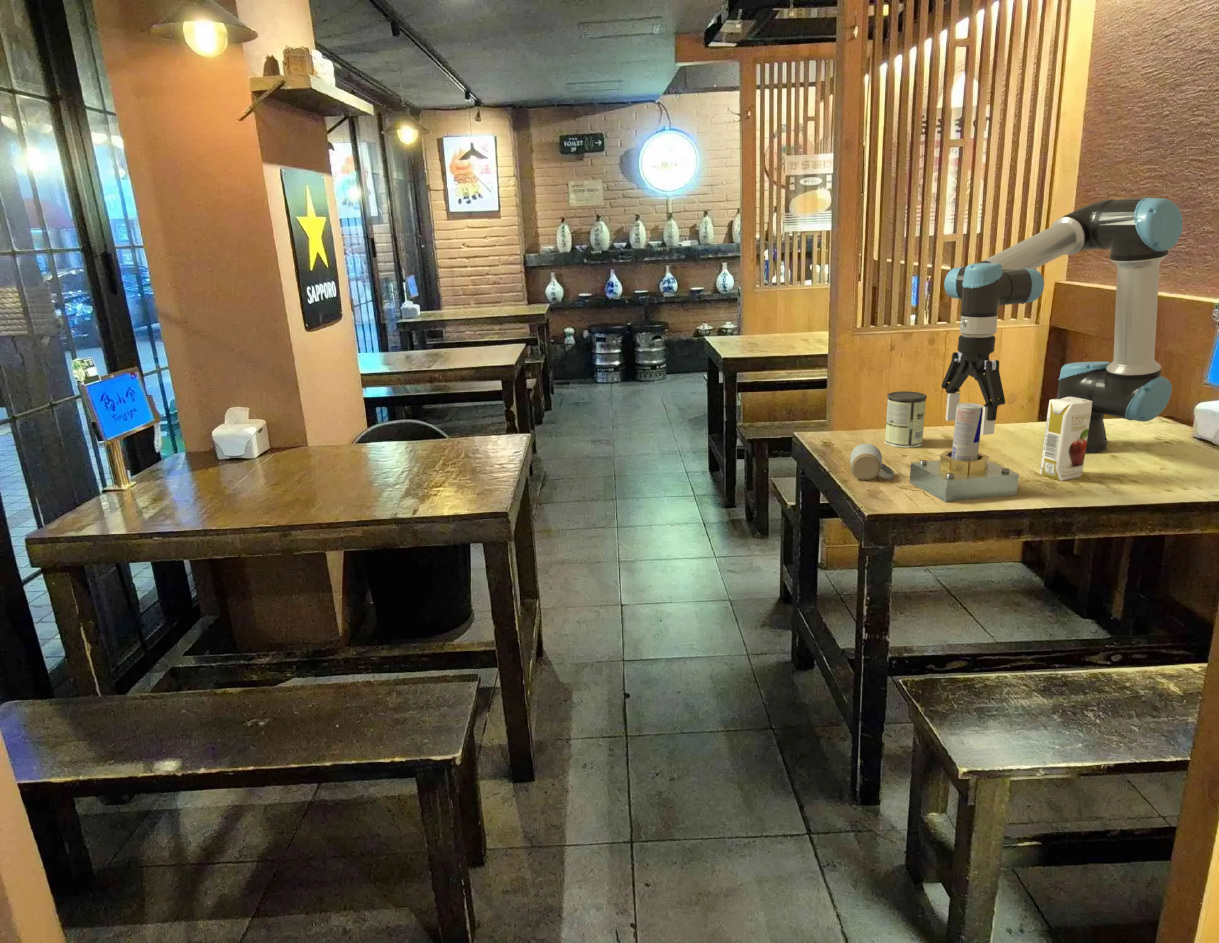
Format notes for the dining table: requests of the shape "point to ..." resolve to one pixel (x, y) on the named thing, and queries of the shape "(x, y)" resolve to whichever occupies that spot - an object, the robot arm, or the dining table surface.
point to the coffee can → (905, 419)
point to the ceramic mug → (868, 463)
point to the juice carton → (1065, 438)
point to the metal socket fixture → (963, 478)
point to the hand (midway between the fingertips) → (968, 427)
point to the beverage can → (967, 431)
